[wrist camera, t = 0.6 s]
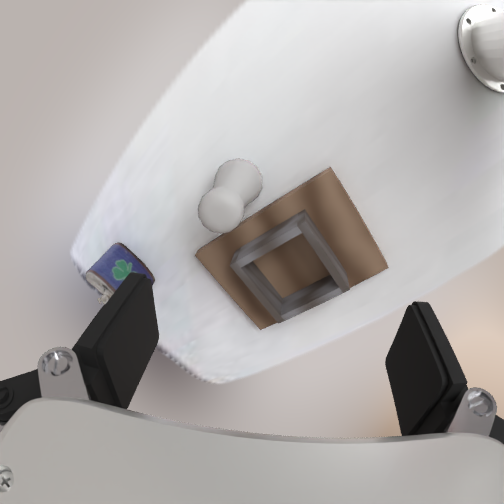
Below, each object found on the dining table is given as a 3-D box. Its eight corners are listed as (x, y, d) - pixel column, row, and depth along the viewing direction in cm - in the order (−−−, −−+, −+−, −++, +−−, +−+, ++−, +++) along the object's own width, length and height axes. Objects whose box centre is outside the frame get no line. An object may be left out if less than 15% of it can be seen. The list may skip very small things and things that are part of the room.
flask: (110, 247, 49) (75, 283, 39) (120, 237, 48) (84, 273, 38) (149, 287, 51) (121, 329, 42) (159, 279, 50) (131, 321, 41)
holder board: (330, 166, 38) (334, 178, 33) (386, 262, 43) (394, 283, 38) (197, 250, 46) (186, 270, 42) (261, 323, 51) (257, 347, 47)
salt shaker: (216, 192, 42) (183, 235, 30) (223, 150, 39) (190, 179, 28) (259, 202, 42) (242, 250, 30) (269, 160, 39) (255, 193, 27)
